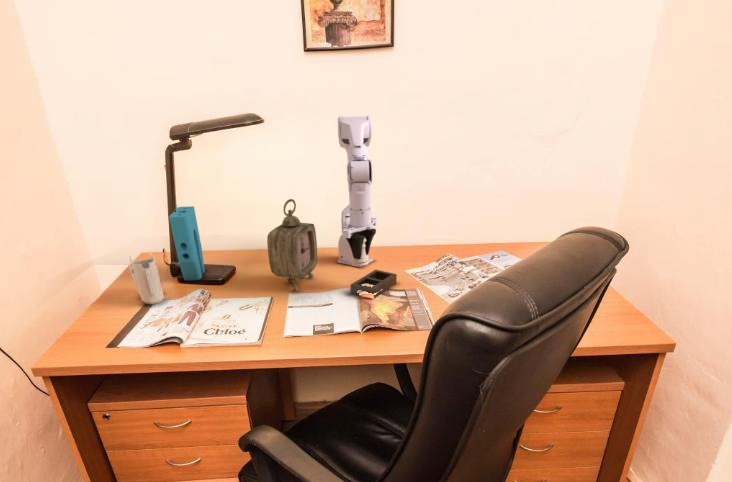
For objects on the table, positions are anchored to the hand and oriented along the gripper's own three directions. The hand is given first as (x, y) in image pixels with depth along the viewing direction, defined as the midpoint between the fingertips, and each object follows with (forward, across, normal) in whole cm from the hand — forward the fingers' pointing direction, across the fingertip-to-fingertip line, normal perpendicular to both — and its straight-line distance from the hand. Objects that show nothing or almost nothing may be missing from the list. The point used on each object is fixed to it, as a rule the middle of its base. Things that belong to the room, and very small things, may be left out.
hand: (360, 256), depth 137 cm
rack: (+10, +2, -3) cm, 11 cm away
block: (+10, -18, +51) cm, 55 cm away
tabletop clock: (+10, -7, +19) cm, 23 cm away
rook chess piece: (+3, 0, 0) cm, 3 cm away
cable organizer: (+10, -36, +48) cm, 61 cm away
